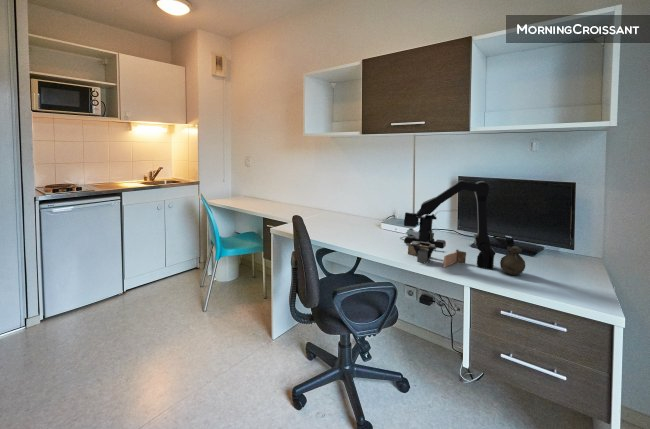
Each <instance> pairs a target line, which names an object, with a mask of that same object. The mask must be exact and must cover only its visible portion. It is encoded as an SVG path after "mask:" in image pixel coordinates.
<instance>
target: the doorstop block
mask: <svg viewBox="0 0 650 429" xmlns="http://www.w3.org/2000/svg"><path fill="white" fill-rule="evenodd" d="M428 253H429V249H425V248H421V249H419V250H418V256H417V259H416V261H417V262H418V263H423V264H427V263H428V262H429V261H430V260H431V258H430V259H429V260H428ZM417 262H416V263H417Z"/></svg>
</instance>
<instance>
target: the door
mask: <svg viewBox="0 0 650 429" xmlns="http://www.w3.org/2000/svg"><path fill="white" fill-rule="evenodd" d="M455 263H458V262H457V252H456V251H453V252H451V253H448V254H446V255H444V257H443V267H444V268H446V267H449V266H450V265H451V266H452V265H454V264H455Z"/></svg>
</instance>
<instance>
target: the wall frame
mask: <svg viewBox="0 0 650 429" xmlns="http://www.w3.org/2000/svg"><path fill="white" fill-rule="evenodd" d="M411 244H412V243H411ZM411 244H408V245H407V246H408V247H407V255H410V256H411V255H412V256H417V254H416V251H415V249H414V247H413V246H411ZM429 247H430V245H429V246H422V245H420V249H421V248H425V249H429ZM455 252H457V262H456V263H459V264H466V258H467V252H466V251H461V250H459V249H455ZM417 257H418V256H417ZM431 258H432V256H431V257H430V259H431Z"/></svg>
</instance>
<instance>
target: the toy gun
mask: <svg viewBox="0 0 650 429" xmlns="http://www.w3.org/2000/svg"><path fill="white" fill-rule="evenodd" d="M405 234H406V235H407V236H415V237H416V239H418V238H419V231H417V230H414V229H413V228H412V227H409V228H408V229H407V230H406V232H405ZM431 241H436V240H435V238H433V240H431ZM423 242H424V241H423ZM404 244H405V245H406V246H408V243H404ZM420 245H422V246H429V245H430V246H431V244H424V243H420Z"/></svg>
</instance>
